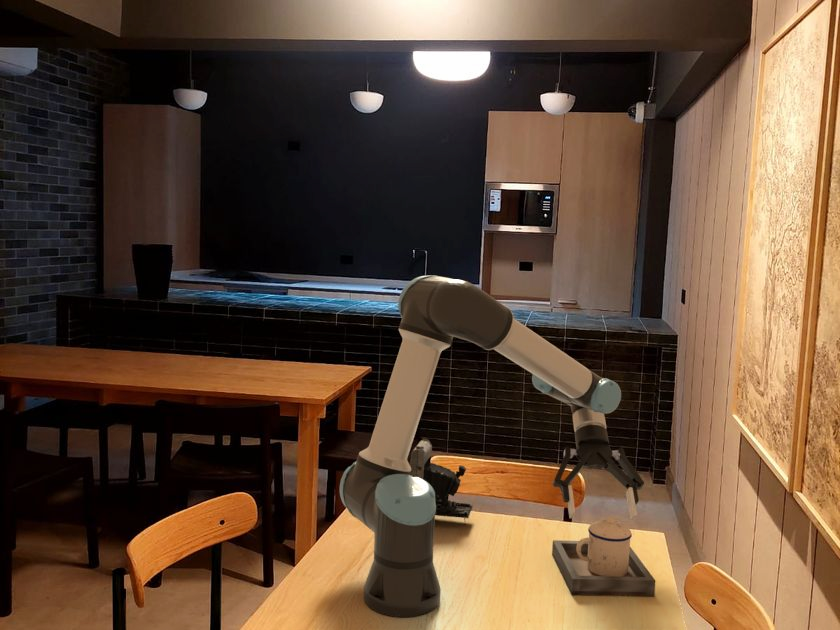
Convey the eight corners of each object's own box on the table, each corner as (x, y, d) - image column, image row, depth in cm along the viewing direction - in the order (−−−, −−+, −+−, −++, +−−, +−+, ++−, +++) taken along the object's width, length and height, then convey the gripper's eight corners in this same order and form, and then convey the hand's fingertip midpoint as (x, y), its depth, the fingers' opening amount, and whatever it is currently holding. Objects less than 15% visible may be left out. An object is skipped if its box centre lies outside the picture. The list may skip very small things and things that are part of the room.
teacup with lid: (616, 559, 169) (619, 508, 168) (637, 577, 160) (640, 524, 159) (566, 562, 166) (569, 511, 165) (584, 581, 157) (588, 527, 156)
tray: (571, 595, 153) (572, 578, 153) (551, 555, 172) (552, 540, 172) (654, 596, 154) (655, 580, 154) (625, 556, 173) (626, 541, 173)
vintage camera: (466, 534, 183) (473, 454, 181) (404, 525, 186) (410, 446, 184) (471, 520, 193) (478, 444, 191) (412, 511, 196) (418, 436, 194)
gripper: (638, 440, 182) (654, 525, 169) (535, 437, 181) (543, 521, 168) (647, 424, 176) (664, 511, 163) (540, 421, 175) (549, 507, 162)
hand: (603, 516), depth 165 cm, fingers open, 13 cm apart
